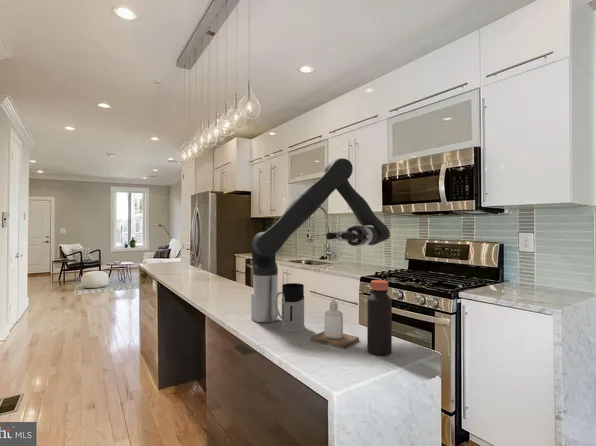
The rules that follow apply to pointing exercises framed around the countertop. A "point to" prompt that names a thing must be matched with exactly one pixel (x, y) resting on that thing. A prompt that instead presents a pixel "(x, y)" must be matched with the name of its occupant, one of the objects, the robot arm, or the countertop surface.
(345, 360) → the countertop surface
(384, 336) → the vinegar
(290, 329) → the glass holder
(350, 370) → the countertop surface
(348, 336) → the walnut board
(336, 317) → the eye dropper bottle
